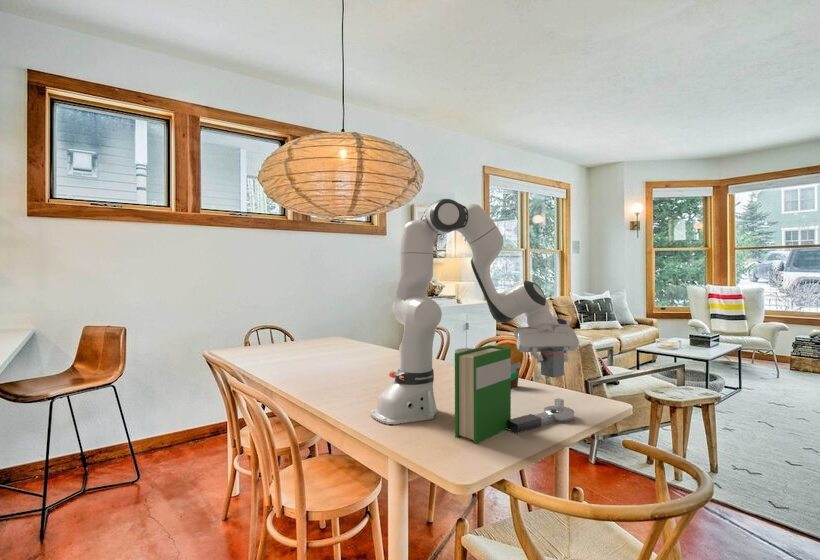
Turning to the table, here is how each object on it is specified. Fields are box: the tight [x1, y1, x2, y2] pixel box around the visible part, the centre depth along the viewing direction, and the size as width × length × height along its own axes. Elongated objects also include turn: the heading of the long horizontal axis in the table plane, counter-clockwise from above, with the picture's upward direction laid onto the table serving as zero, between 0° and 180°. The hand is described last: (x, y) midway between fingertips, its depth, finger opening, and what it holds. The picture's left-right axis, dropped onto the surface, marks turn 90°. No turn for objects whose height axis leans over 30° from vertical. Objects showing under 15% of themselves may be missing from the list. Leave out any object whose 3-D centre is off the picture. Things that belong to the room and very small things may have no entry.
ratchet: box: [506, 397, 575, 434], centre depth 135 cm, size 25×9×6 cm, turn 121°
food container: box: [511, 361, 522, 389], centre depth 176 cm, size 12×6×10 cm, turn 70°
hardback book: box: [454, 344, 512, 445], centre depth 128 cm, size 18×7×24 cm, turn 136°
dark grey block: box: [540, 348, 565, 379], centre depth 142 cm, size 5×5×8 cm
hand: (553, 361), depth 141 cm, fingers closed on dark grey block, 7 cm apart
